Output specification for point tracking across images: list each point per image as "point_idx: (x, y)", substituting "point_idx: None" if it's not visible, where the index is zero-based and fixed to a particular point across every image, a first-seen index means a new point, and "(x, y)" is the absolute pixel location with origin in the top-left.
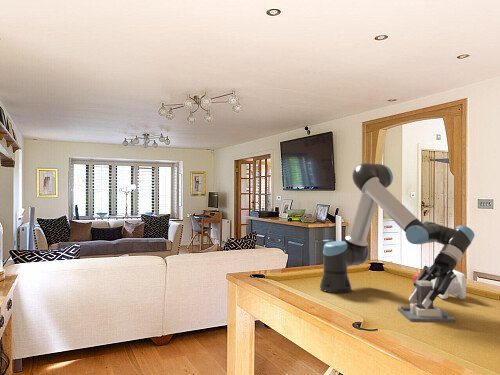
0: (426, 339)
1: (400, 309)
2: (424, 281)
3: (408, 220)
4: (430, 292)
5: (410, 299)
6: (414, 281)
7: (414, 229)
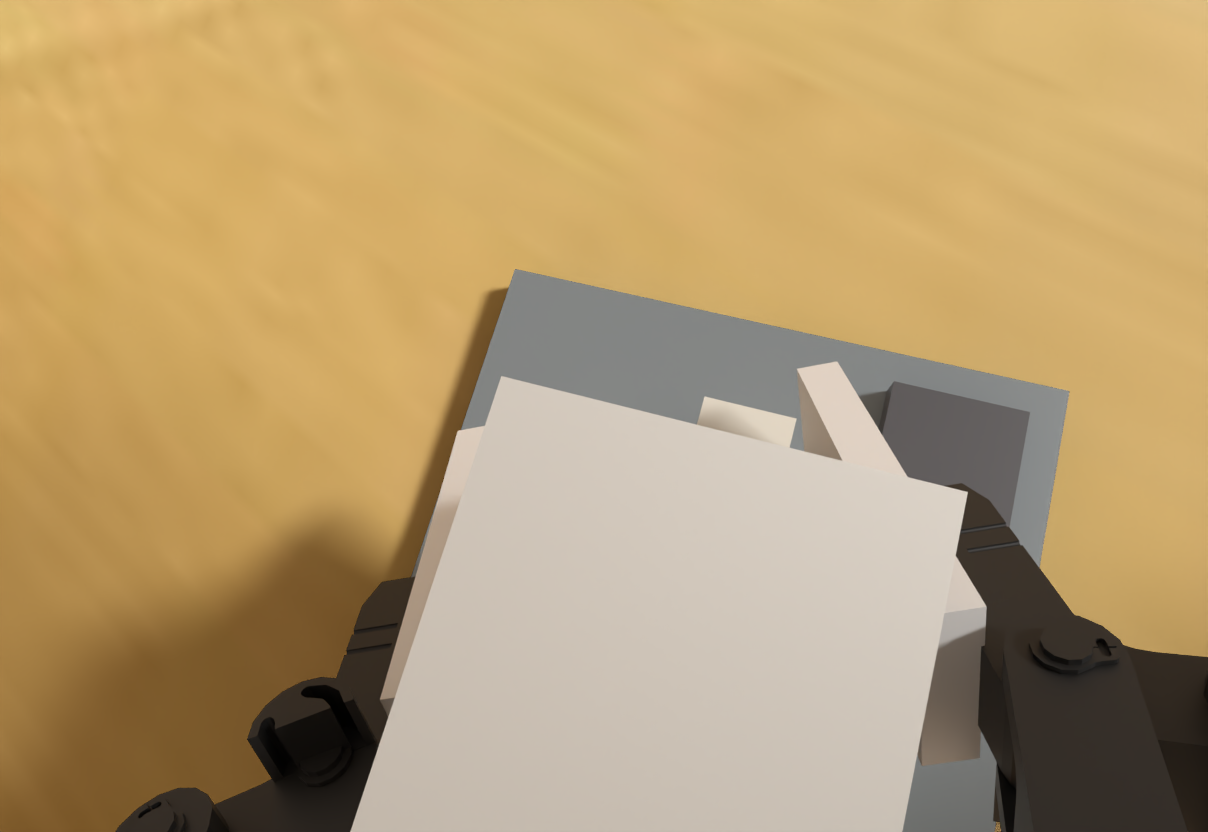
0: (27, 126)
1: (955, 377)
2: (696, 704)
3: None
4: (410, 642)
5: (802, 385)
6: None
7: None
